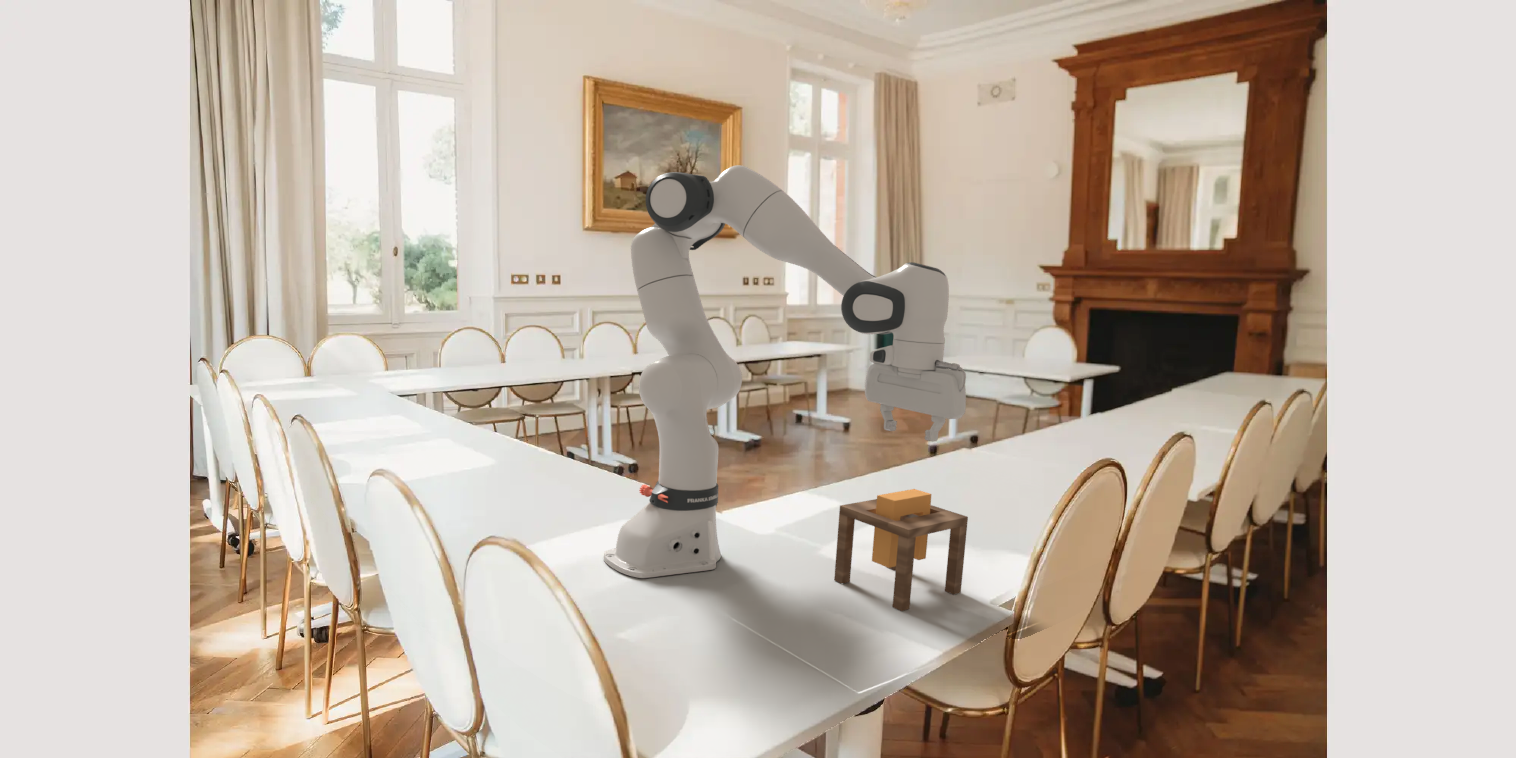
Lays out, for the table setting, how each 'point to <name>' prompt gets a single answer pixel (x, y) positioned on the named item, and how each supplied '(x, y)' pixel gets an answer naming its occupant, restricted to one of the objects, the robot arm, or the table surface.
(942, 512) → the brown stool
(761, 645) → the table surface
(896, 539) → the orange arch brick
